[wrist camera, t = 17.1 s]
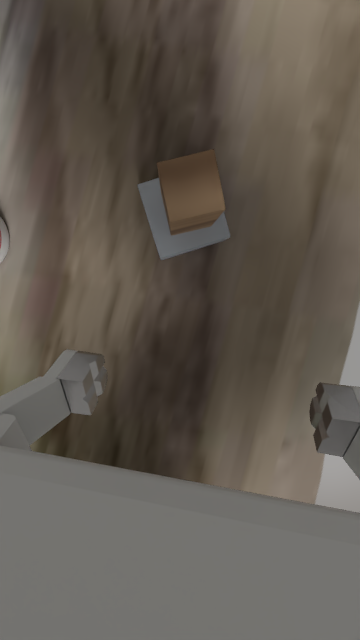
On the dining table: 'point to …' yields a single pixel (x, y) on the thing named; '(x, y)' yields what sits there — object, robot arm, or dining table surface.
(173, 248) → the slate grey base block
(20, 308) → the dining table surface
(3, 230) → the fruit juice
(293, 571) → the robot arm
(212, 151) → the walnut block
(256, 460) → the dining table surface
